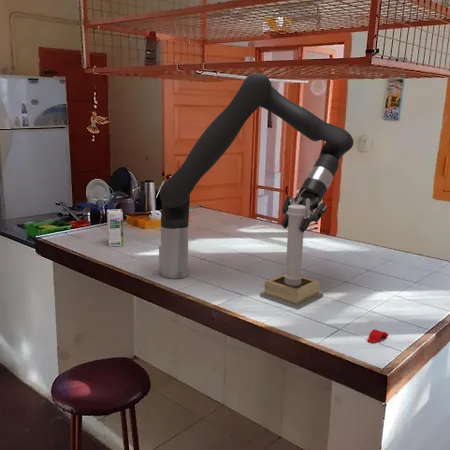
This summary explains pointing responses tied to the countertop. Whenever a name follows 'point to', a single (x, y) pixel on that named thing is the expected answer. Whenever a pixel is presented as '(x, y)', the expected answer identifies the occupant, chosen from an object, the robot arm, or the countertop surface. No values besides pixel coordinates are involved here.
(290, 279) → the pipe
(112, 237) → the syrup box
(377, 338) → the pipe clamp
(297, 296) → the socket
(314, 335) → the countertop surface
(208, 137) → the robot arm
